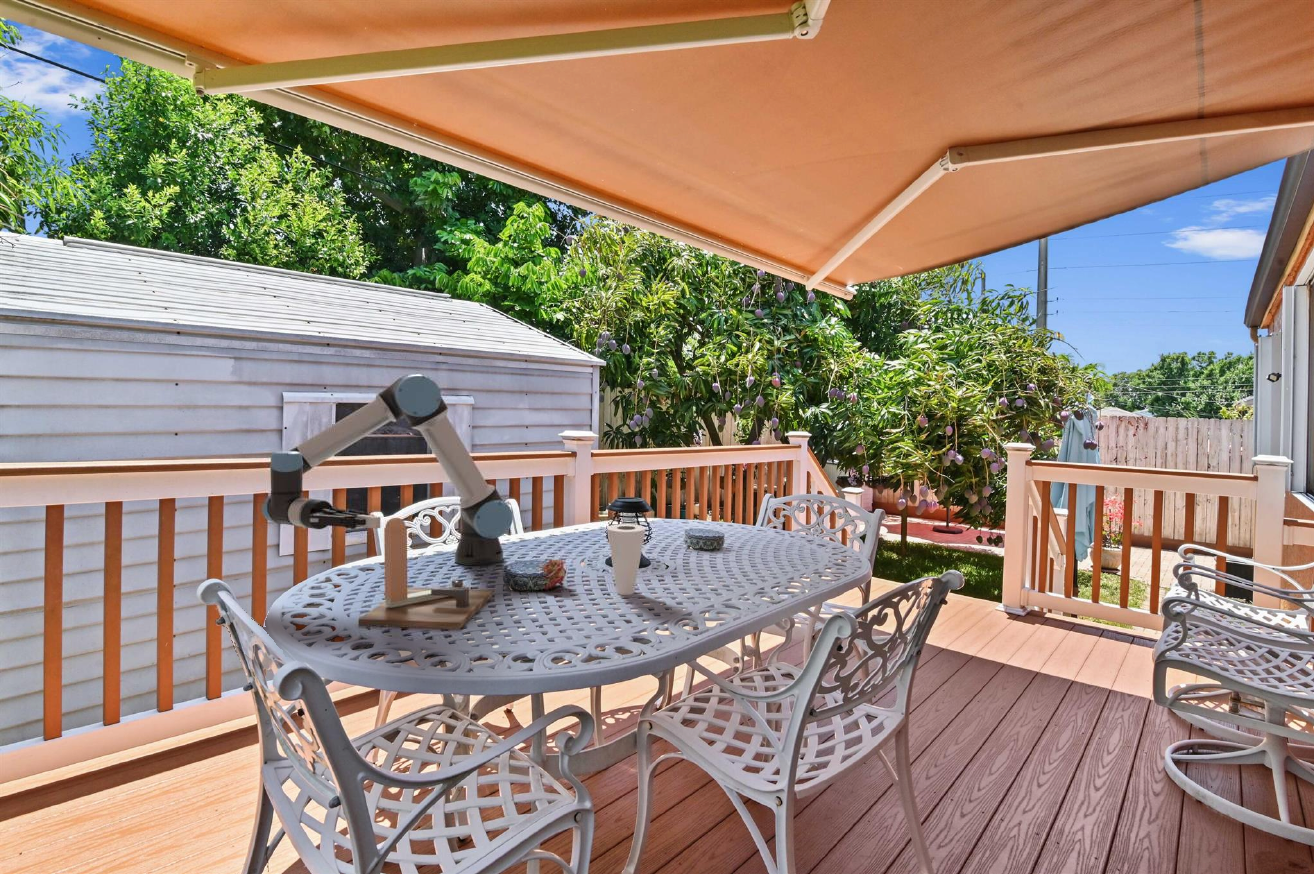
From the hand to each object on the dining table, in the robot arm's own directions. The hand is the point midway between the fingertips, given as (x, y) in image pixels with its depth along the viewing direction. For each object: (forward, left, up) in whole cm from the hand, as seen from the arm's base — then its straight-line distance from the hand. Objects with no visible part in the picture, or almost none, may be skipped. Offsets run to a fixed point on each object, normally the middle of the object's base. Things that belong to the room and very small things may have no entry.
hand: (378, 522), depth 169 cm
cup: (-61, +17, -22) cm, 67 cm away
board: (-11, +6, -22) cm, 25 cm away
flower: (-45, +3, -22) cm, 50 cm away
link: (-11, +3, -20) cm, 23 cm away
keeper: (-18, +6, -20) cm, 28 cm away
